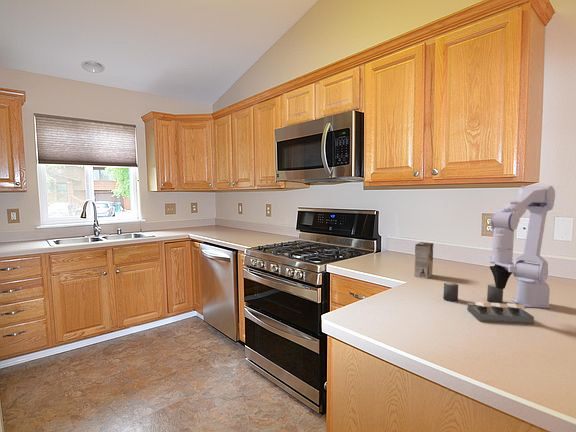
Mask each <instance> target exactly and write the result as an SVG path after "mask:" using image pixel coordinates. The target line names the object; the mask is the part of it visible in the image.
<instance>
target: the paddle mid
mask: <svg viewBox="0 0 576 432" xmlns="http://www.w3.org/2000/svg"><path fill="white" fill-rule="evenodd" d="M491 306H496V307H504V308H508V304H507V303H503V302H502V303H491Z"/></svg>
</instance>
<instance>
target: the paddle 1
mask: <svg viewBox="0 0 576 432" xmlns="http://www.w3.org/2000/svg"><path fill="white" fill-rule="evenodd" d="M475 304H476V305H479V306H483V307H491V303H490V302H483V301H476V302H475Z"/></svg>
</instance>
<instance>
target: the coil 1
mask: <svg viewBox="0 0 576 432" xmlns="http://www.w3.org/2000/svg"><path fill="white" fill-rule="evenodd" d="M442 296H443V297H442V298H443V301H447V302H451V303H455V302H458V301H459V284H458V283H456V282H451V281H446V282H443V295H442Z"/></svg>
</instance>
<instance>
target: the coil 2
mask: <svg viewBox="0 0 576 432" xmlns="http://www.w3.org/2000/svg"><path fill="white" fill-rule="evenodd" d="M503 300H504V289H498V288H496V285H495V283H489V284H487V293H486V302H487V303H502V304H503V303H504V302H503Z"/></svg>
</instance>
